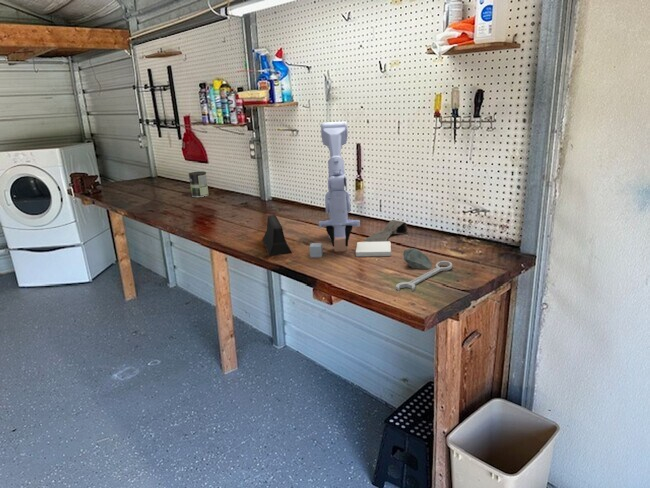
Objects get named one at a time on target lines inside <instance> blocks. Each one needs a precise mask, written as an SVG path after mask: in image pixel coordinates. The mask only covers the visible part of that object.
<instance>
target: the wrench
mask: <svg viewBox="0 0 650 488" xmlns="http://www.w3.org/2000/svg"><path fill="white" fill-rule="evenodd" d="M441 265H442V266H441ZM444 265H446V266H444ZM440 266H441V267H440ZM443 266H444V267H443ZM452 268H453V263H452V262H450V261H448V260H441V261H438V262H437V263H436V264H435V268H433V269H430V270H429V271H428V272H426V273H423V274H422V275H419V276H417V277H416V278H414V279H412V280H410V281H408V282H407V281H401V282H399V283H397V284H396V285H395V289H396V291H398V292H400V290H401V289H403V288H409V289H410V290H411V292H413V291H415V290H416V285H417V284H420V283H421V282H423V281H425V280H427V279H428V278H431V277H433V276H434V275H436V274H438V273H440V272H447V271H450V270H452Z"/></svg>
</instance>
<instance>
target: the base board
mask: <svg viewBox="0 0 650 488" xmlns="http://www.w3.org/2000/svg"><path fill="white" fill-rule="evenodd" d="M391 247H392V245H391V241H389V240H386V241H383V242H367V241H357V242H356V248H355V257H391V256H392V248H391Z"/></svg>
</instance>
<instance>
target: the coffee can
mask: <svg viewBox="0 0 650 488" xmlns="http://www.w3.org/2000/svg"><path fill="white" fill-rule="evenodd" d="M188 178H189V185H190V191H191V192H190V193H191V197H192V198H203V197H204V196H205V197H208V196H209V194H210V193H209V187H208V180H207V172H206V171H192V172H188ZM205 197H204V198H205Z"/></svg>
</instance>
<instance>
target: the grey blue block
mask: <svg viewBox="0 0 650 488" xmlns="http://www.w3.org/2000/svg"><path fill="white" fill-rule="evenodd" d="M308 249H309V258H322V257H323V255H324V252H323V251H324V250H323V243H322V242H310V244H309V248H308Z"/></svg>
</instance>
